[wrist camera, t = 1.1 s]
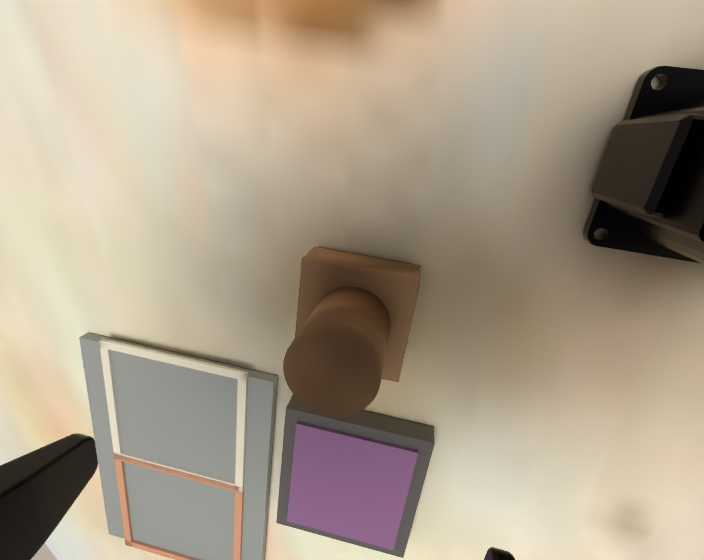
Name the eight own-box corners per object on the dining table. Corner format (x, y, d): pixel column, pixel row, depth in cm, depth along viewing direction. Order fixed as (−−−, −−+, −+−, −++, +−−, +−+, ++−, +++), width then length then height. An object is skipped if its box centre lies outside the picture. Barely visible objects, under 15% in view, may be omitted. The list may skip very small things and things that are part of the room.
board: (277, 371, 21) (272, 379, 20) (263, 572, 28) (259, 584, 27) (87, 328, 23) (75, 334, 22) (115, 529, 29) (107, 539, 28)
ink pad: (433, 426, 21) (434, 446, 19) (404, 538, 24) (402, 561, 23) (293, 394, 22) (284, 410, 20) (283, 505, 25) (275, 525, 24)
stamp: (420, 262, 18) (417, 324, 12) (401, 353, 20) (390, 447, 14) (317, 243, 18) (265, 293, 12) (308, 333, 20) (258, 415, 14)
